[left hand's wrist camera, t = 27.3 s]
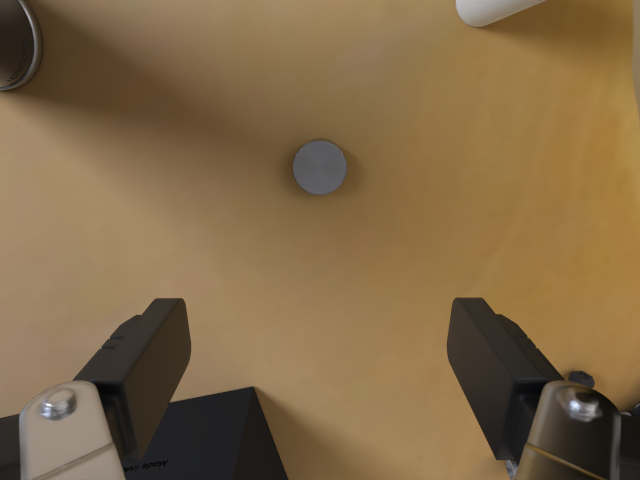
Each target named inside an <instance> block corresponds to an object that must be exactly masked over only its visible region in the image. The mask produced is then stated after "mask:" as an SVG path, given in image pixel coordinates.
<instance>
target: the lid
mask: <svg viewBox="0 0 640 480" xmlns="http://www.w3.org/2000/svg"><path fill="white" fill-rule="evenodd" d="M346 172H347V164H346V159H345V157H344V154H343V152H342V151H341V149H340V148H339V147H338V146H337V145H336V144H334V143H333V142H331V141H328V140H325V139H315V140H311V141H309V142H307V143H305V144H304V145H303V146H302V147H301V148H300V149H299V150H298V152H297V154H296V156H295V159H294V162H293V174H294V177H295V180H296V182H297V183H298V185H299V186H300V187H301V188H302V189H304V190H305V191H307V192H309V193H311V194H315V195H325V194H329V193H331V192H333V191H335V190H336V189H337V188H339V186H340V185H341V184H342V183H343V181H344V179H345V176H346Z"/></svg>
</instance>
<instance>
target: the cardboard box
mask: <svg viewBox="0 0 640 480" xmlns="http://www.w3.org/2000/svg"><path fill="white" fill-rule="evenodd" d="M157 461H159V462H157ZM160 461H161V462H160ZM146 463H147V464H146ZM164 464H165V466H164ZM160 465H161V466H160ZM121 466H122V469H123V472H124V476H125V479H126V480H288V478H287V475H286V472H285V470H284V467H283V464H282V462H281V459H280V456H279V454H278V451H277V448H276V446H275V443H274V440H273V438H272V435H271V432H270V430H269V427H268V424H267V422H266V419H265V416H264V414H263V411H262V408H261V406H260V403H259V400H258V398H257V395H256V392H255V390H254V387H249V388H244V389H239V390H233V391H228V392H223V393H218V394H213V395H208V396H202V397H197V398H192V399H187V400H182V401H176V402H171V403H169V404H168V407H167V409H166V411H165V413H164V415H163V417H162V419H161V421H160V423H159V425H158V427H157V429H156V431H155V433H154V435H153V437H152V439H151V441H150V443H149V445H148V447H147V449H146V451H145V454H144V456H143V458H142V460H141V461H122V462H121ZM130 466H131V467H130ZM147 467H149V468H147ZM134 469H135V470H134ZM126 471H127V472H126ZM135 471H136V472H135Z"/></svg>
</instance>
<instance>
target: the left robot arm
mask: <svg viewBox="0 0 640 480" xmlns="http://www.w3.org/2000/svg"><path fill="white" fill-rule="evenodd" d="M41 56H42V38H41V33H40V29H39V26H38V23H37V20H36V18H35V16H34V14H33V12H32V10H31V8H30V7H29V5H28V3H27V2H26V1H25V0H0V90H9V89H14V88H17V87H20V86H22V85H23V84H25V83H26V82H28V81H29V80H30V79H31V78H32V77H33V75H34V74H35V72H36V71H37V69H38V67H39V64H40V61H41ZM447 354H448V359H449V362H450V365H451V367H452V369H453V371H454V373H455V375H456V377H457V379H458V381H459V383H460V386H461V388H462V390H463V392H464V394H465V396H466V398H467V400H468V402H469V404H470V406H471V408H472V410H473V412H474V414H475V417H476V419H477V421H478V423H479V425H480V427H481V429H482V431H483V433H484V435H485V437H486V439H487V441H488V443H489V446H490V448H491V450H492V452H493V454H494V456H495V458H496V460H515V461H516V463H517V465H518V469H517V472H516V476H515V479H514V480H640V418H639V417H635V416H630V415H626V414H621V413H619V411H618V409H617V408H616V406H615V405H614V404H613V403H612V402H611V401H610V400H609V399H608V398H606V397H605V396H604V395H602V394H601V393H599V392H597V391H596V390H594V389H592V388H590V387H587V386H585V385H582V384H579V383H575V382H571V381H565V379H564V378H563V377H562V376H561V375H560V374H559V372H558V371H557V370H556V369H555V368H554V367H553V365H552V364H551V363H550V362H549V361H548V360H547V358H546V357H545V356H544V355H543V354H542V353H541V351H540V350H539V349H538V348H536V346H535V344H534V343H533V342H532V341H531V340H530V339H529V338H527V335H526V334H525V333H524V332H523V330H522V329H521V328H520V327H519V326H518V325H517V324H516V323H514V322H513V321H511V320H510V319H508V318H506V317H505V316H503V315H502V314H495V313H494V311H493V310H492V309H491V308H490V306H489V305H488V304H487V303H486V301H485V300H484V299H483V298H455V299H454V301H453V304H452V310H451V317H450V324H449V332H448V339H447ZM190 355H191V339H190V332H189V325H188V318H187V311H186V305H185V302H184V300H183V299H182V298H156V299H155V300H154V301H153V302H152V303H151V304H150V305H149V307H148V308H147V309H146V310H145V312H144V313H143V314H142V315H135V316H134V317H132V318H131V319H129V320H128V321H126V322H124V323H123V324H121V325H120V326H119V327H118V328H117V330H116V331H115V332H114V333H113V334H112V335H111V336H110V339H108V340H107V341H106V342H105V343H104V345H103V346H102V349H99V350H98V351H97V353H96V354H95V355H94V356H93V357H92V358H91V360H90V361H89V362H88V363H87V364H86V365H85V366H84V368H83V369H82V370H81V371H80V372H79V373H78V375H77V376H76V377H75V378H74V379H73V380H72V381H69V382H65V383H61V384H58V385H55V386H53V387H50V388H48V389H46V390H44V391H43V392H41V393H39V394H38V395H36V396H35V397H34V398H32V399H31V400H30V401H29V402H28V403H27V404H26V405H25V406H24V408H23V409H22V411H21V413H20V414H17V415H13V416H8V417H4V418H0V480H126V479H125V476H124V472H123V469H122V466H121V462H122V461H141V460H142V458H143V456H144V454H145V451H146V449H147V447H148V445H149V443H150V441H151V439H152V437H153V435H154V433H155V431H156V429H157V427H158V425H159V423H160V421H161V419H162V417H163V415H164V413H165V411H166V409H167V407H168V404H169V402H170V400H171V398H172V396H173V394H174V392H175V390H176V388H177V386H178V384H179V382H180V380H181V378H182V376H183V374H184V372H185V370H186V368H187V366H188V363H189V360H190Z"/></svg>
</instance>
